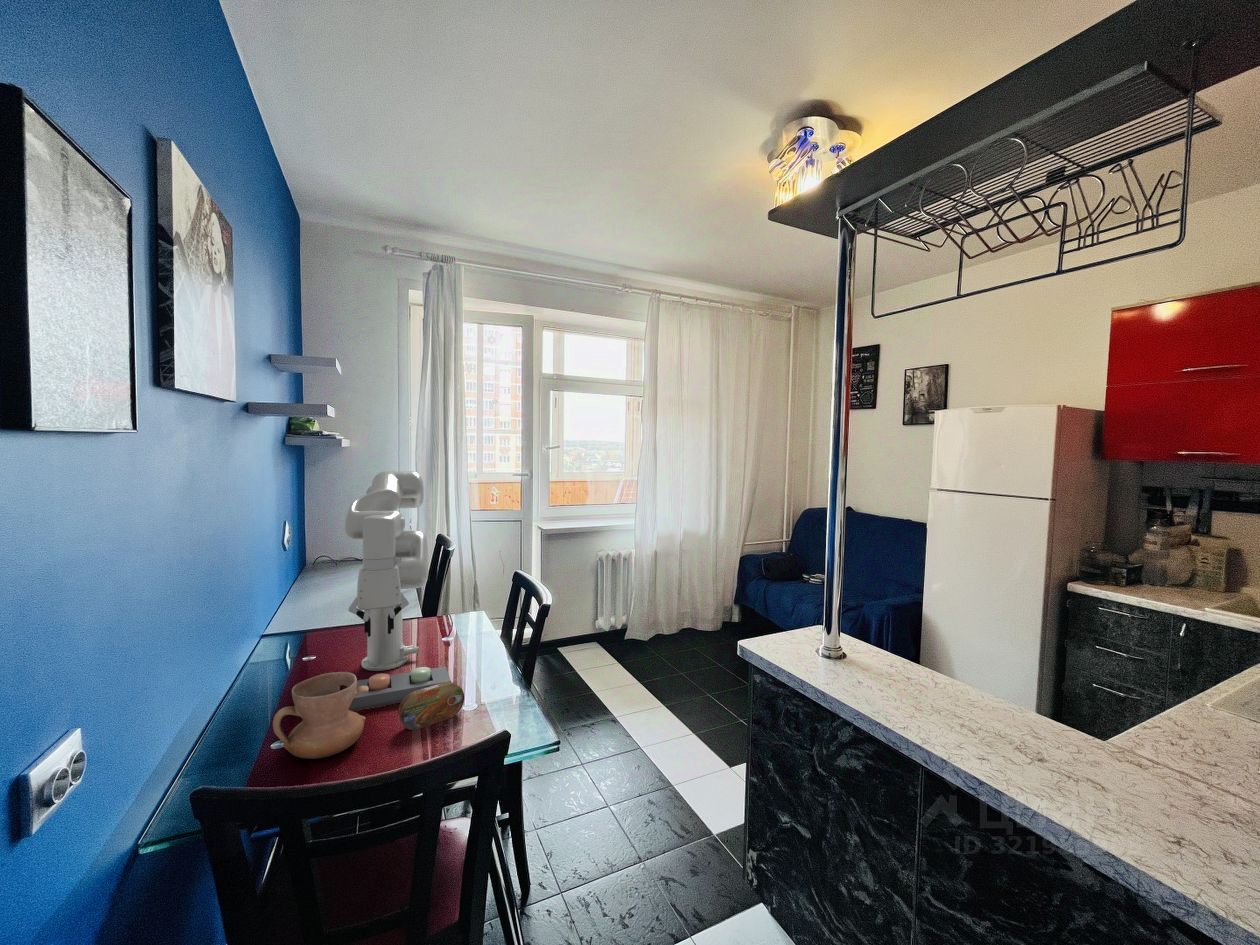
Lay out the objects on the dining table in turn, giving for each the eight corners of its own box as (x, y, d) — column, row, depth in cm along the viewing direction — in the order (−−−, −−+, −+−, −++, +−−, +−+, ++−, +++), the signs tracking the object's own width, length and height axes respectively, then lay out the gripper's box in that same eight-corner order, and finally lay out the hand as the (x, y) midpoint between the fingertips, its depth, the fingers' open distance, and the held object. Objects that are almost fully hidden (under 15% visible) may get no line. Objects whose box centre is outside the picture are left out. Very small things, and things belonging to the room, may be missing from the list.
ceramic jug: (363, 719, 123) (361, 661, 123) (376, 748, 112) (375, 684, 111) (271, 746, 112) (269, 683, 112) (276, 781, 101) (274, 711, 100)
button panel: (445, 678, 146) (445, 666, 146) (450, 693, 137) (450, 681, 137) (349, 695, 135) (349, 681, 135) (348, 713, 126) (347, 699, 126)
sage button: (429, 676, 141) (429, 665, 141) (431, 683, 137) (431, 672, 137) (410, 679, 139) (410, 668, 139) (411, 687, 135) (411, 676, 135)
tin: (400, 735, 118) (400, 699, 117) (396, 728, 120) (396, 693, 120) (464, 714, 127) (465, 681, 127) (459, 709, 130) (460, 676, 129)
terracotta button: (389, 683, 137) (389, 672, 137) (389, 691, 133) (389, 679, 132) (368, 686, 135) (368, 675, 135) (369, 694, 130) (368, 683, 130)
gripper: (413, 557, 139) (413, 624, 140) (342, 563, 131) (342, 633, 132) (415, 564, 132) (415, 633, 133) (341, 569, 125) (341, 643, 126)
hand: (379, 632), depth 133 cm, fingers open, 4 cm apart
